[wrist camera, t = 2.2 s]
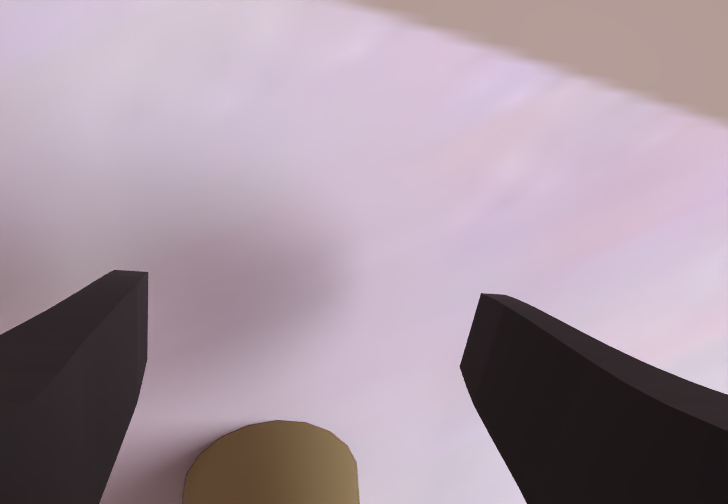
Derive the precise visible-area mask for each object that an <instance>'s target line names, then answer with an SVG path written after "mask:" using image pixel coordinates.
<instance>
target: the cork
mask: <svg viewBox="0 0 728 504" xmlns="http://www.w3.org/2000/svg"><path fill="white" fill-rule="evenodd" d="M182 500H183V504H360V502H359V488H358V474H357V463H356V461H355V459H354V457H353V455H352V453H351V451H350V450H349V448H348V446H347V445H346V444H345V443H344V442H342V441H341V440H340V439H339V438H338V437H336V436H335V435H334V434H333V433H331V432H330V431H327V430H325V429H322V428H319V427H317V426H314V425H311V424H308V423H303V422H291V421H272V422H266V423H260V424H254V425H248V426H246V427H244V428H241V429H239V430H237V431H234V432H232V433H230V434H227V435H225V436H223V437H221V438H220V439H218V440H217V441H216V442H215V443H213V444H212V445H211V446H210V447H208V448H207V449H206V450H204V451H203V452H202V453H201V454H200V455H199V456H198V458H197V459H196V461H195V462H194V464H193V465H192V467H191V468H190V470H189V471H188V473H187V475H186V480H185V485H184V490H183V495H182Z"/></svg>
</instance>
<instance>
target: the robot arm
mask: <svg viewBox="0 0 728 504" xmlns="http://www.w3.org/2000/svg"><path fill="white" fill-rule="evenodd" d="M147 331H148V272H138V271H122V270H114V271H112V272H110V273H108V274H106V275H104V276H103V277H101V278H99V279H98V280H96V281H94V282H93V283H91V284H90V285H88V286H86V287H85V288H83V289H81V290H80V291H78V292H77V293H75V294H73V295H72V296H70V297H68V298H67V299H65V300H63V301H62V302H60V303H58V304H57V305H55V306H53V307H52V308H50V309H48V310H46V311H45V312H43V313H41V314H39V315H37V316H35V317H33V318H31V319H30V320H28V321H26V322H24V323H22V324H20V325H18V326H16V327H15V328H13V329H11V330H9V331H7V332H5V333H3V334H1V335H0V504H99V502H100V500H101V497H102V494H103V492H104V489H105V487H106V484H107V481H108V479H109V476H110V473H111V471H112V468H113V466H114V463H115V460H116V458H117V455H118V453H119V450H120V447H121V445H122V442H123V439H124V437H125V434H126V431H127V429H128V426H129V423H130V421H131V418H132V415H133V413H134V410H135V407H136V405H137V401H138V397H139V393H140V389H141V385H142V380H143V376H144V371H145V367H146V362H147ZM460 369H461V372H462V375H463V378H464V381H465V384H466V387H467V389H468V392H469V394H470V397H471V399H472V402H473V404H474V406H475V408H476V410H477V412H478V414H479V416H480V418H481V420H482V421H483V423H484V425H485V427H486V429H487V431H488V433H489V434H490V436H491V438H492V440H493V442H494V443H495V445H496V447H497V449H498V451H499V452H500V454H501V456H502V458H503V460H504V461H505V463H506V465H507V467H508V469H509V471H510V472H511V474H512V476H513V478H514V480H515V481H516V483H517V485H518V487H519V489H520V491H521V493H522V495H523V497H524V499H525V501H526V503H527V504H728V395H727V394H724V393H721V392H718V391H715V390H712V389H709V388H707V387H704V386H701V385H698V384H696V383H693V382H690V381H688V380H685V379H683V378H680V377H678V376H676V375H673V374H671V373H668V372H666V371H663V370H661V369H658V368H656V367H654V366H651V365H649V364H647V363H644V362H642V361H640V360H638V359H636V358H634V357H631V356H629V355H627V354H625V353H623V352H621V351H619V350H617V349H615V348H613V347H610V346H608V345H606V344H604V343H602V342H600V341H598V340H597V339H595V338H593V337H591V336H589V335H587V334H585V333H583V332H581V331H579V330H577V329H575V328H573V327H571V326H570V325H568V324H566V323H564V322H562V321H560V320H558V319H556V318H554V317H552V316H550V315H549V314H547V313H545V312H543V311H541V310H539V309H537V308H535V307H533V306H531V305H529V304H527V303H524V302H522V301H520V300H518V299H515V298H513V297H510V296H507V295H499V294H484V293H481V296H480V299H479V302H478V306H477V309H476V313H475V316H474V320H473V323H472V326H471V330H470V333H469V337H468V340H467V344H466V347H465V350H464V354H463V357H462V361H461V364H460Z"/></svg>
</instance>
